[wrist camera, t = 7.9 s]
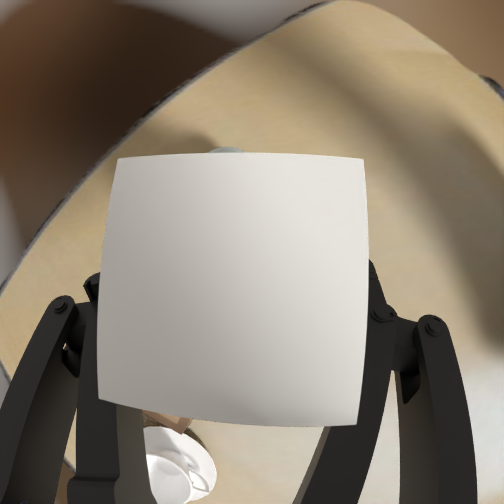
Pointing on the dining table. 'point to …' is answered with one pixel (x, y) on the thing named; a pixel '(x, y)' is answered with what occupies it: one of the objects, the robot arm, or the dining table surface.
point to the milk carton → (235, 288)
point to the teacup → (177, 466)
